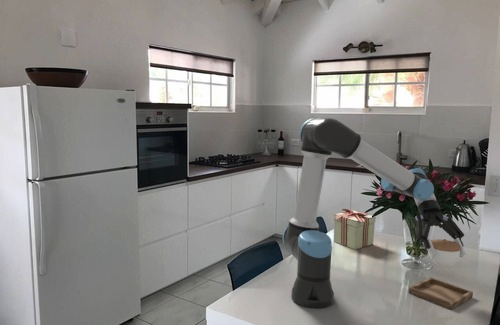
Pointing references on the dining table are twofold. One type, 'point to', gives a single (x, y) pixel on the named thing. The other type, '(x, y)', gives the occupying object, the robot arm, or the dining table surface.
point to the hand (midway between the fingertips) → (448, 256)
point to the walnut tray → (441, 293)
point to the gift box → (354, 229)
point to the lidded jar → (445, 252)
